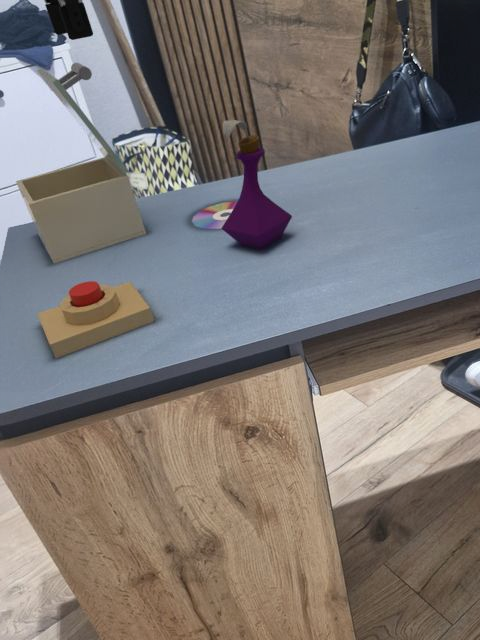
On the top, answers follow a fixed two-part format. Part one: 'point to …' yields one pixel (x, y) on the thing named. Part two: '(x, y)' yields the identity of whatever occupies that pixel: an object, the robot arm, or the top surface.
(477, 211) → the top surface
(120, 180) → the compartment
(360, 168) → the top surface
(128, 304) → the control block
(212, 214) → the cd
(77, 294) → the button
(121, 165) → the lid
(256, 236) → the perfume bottle
